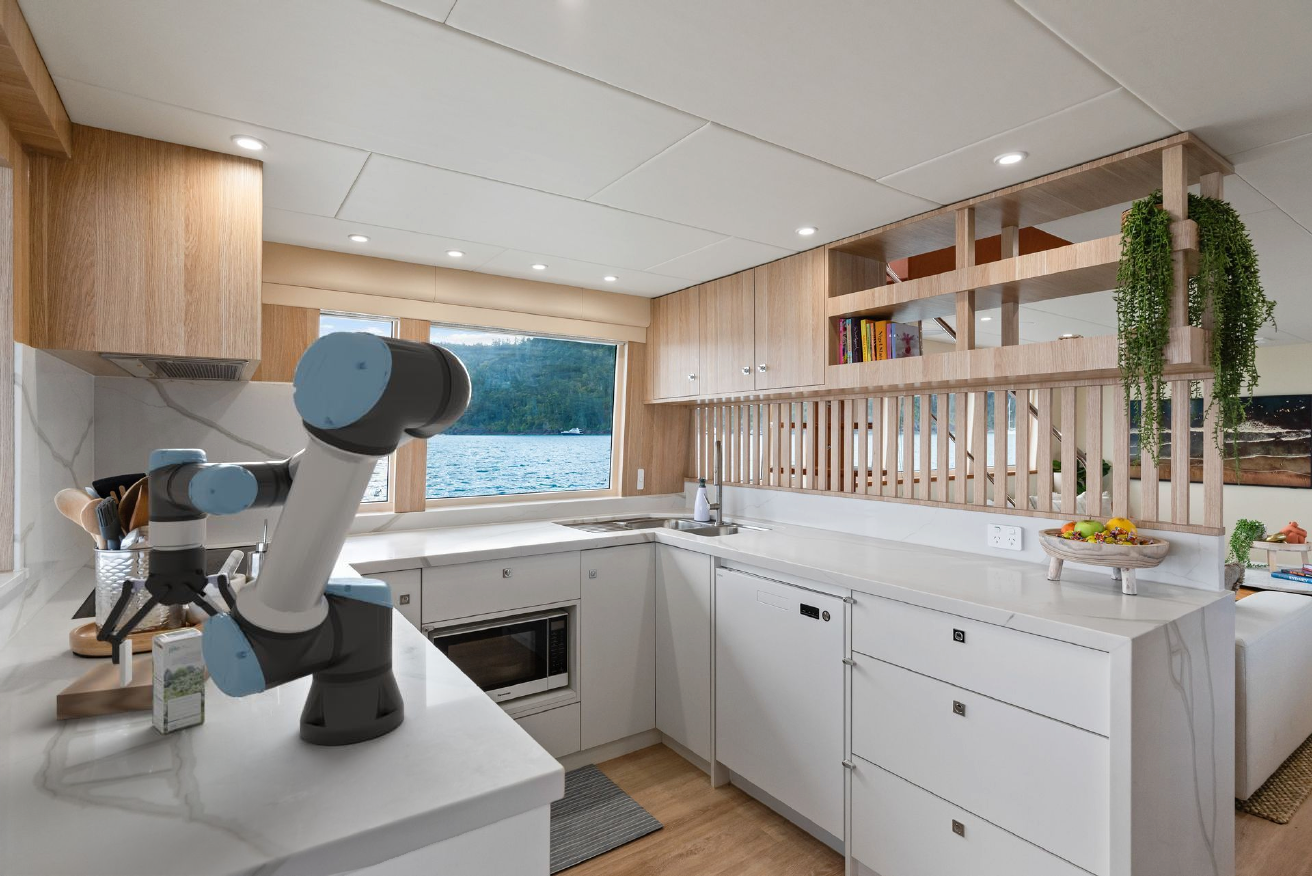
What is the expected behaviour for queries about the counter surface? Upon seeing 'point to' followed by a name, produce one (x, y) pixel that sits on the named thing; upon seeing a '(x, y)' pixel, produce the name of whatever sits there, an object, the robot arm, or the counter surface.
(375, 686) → the robot arm
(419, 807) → the counter surface
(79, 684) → the block
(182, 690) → the syrup box
